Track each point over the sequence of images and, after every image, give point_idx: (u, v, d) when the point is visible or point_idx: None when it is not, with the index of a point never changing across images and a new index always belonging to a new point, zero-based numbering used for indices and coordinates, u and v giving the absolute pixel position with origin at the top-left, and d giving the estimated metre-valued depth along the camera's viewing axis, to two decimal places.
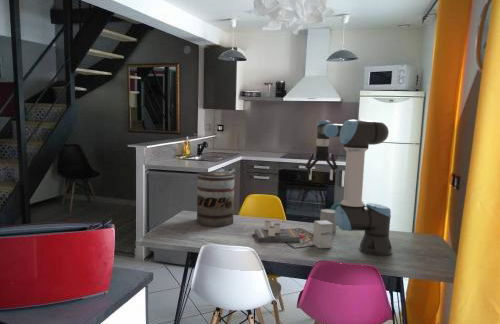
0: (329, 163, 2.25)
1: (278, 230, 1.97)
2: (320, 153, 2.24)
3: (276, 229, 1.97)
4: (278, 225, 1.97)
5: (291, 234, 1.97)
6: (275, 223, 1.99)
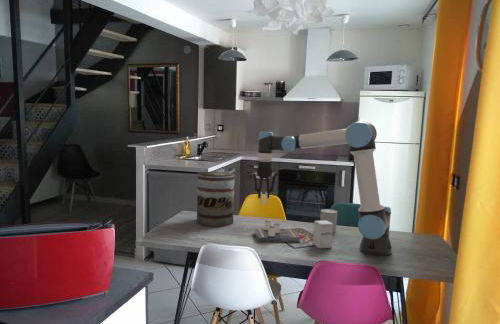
0: (267, 183, 1.94)
1: (278, 230, 1.97)
2: (262, 169, 1.93)
3: (276, 229, 1.97)
4: (278, 225, 1.97)
5: (291, 234, 1.97)
6: (275, 223, 1.99)
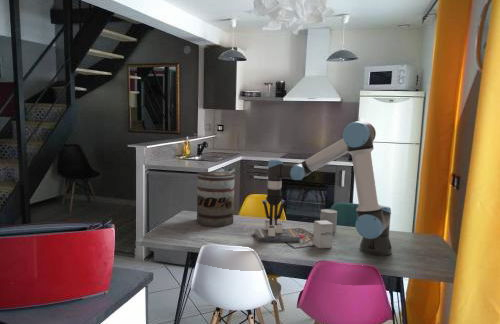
0: (276, 210, 1.96)
1: (280, 230, 1.97)
2: (272, 196, 1.95)
3: (278, 229, 1.97)
4: (280, 225, 1.97)
5: (291, 234, 1.97)
6: (277, 223, 1.99)
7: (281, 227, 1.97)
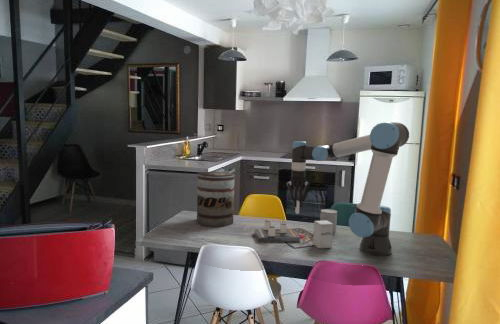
0: (300, 192, 1.96)
1: (284, 230, 1.98)
2: (296, 178, 1.95)
3: (282, 229, 1.97)
4: (284, 225, 1.97)
5: (291, 234, 1.97)
6: (281, 223, 1.99)
7: (285, 227, 1.98)
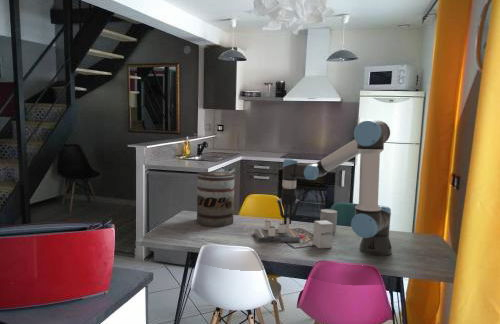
0: (290, 209, 1.97)
1: (283, 230, 1.98)
2: (286, 196, 1.96)
3: (281, 229, 1.97)
4: (283, 225, 1.97)
5: (291, 234, 1.97)
6: (280, 223, 1.99)
7: (284, 227, 1.97)
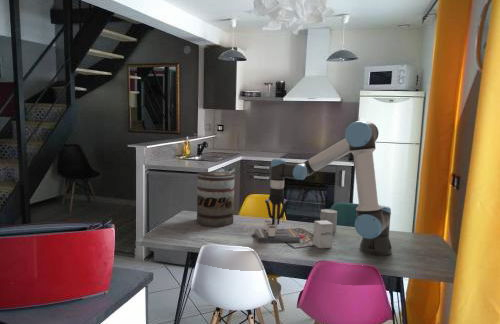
0: (278, 209, 1.96)
1: None
2: (274, 196, 1.95)
3: None
4: (271, 225, 1.96)
5: (291, 234, 1.97)
6: (268, 223, 1.98)
7: None
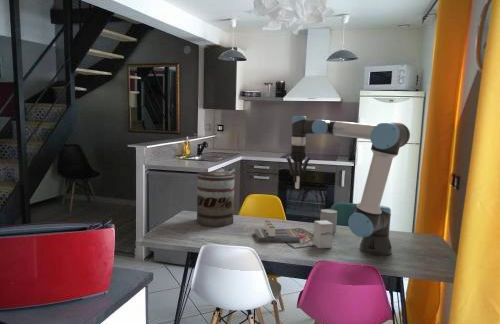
0: (300, 167, 1.96)
1: None
2: (296, 153, 1.95)
3: None
4: (271, 225, 1.96)
5: (291, 234, 1.97)
6: (268, 223, 1.98)
7: None
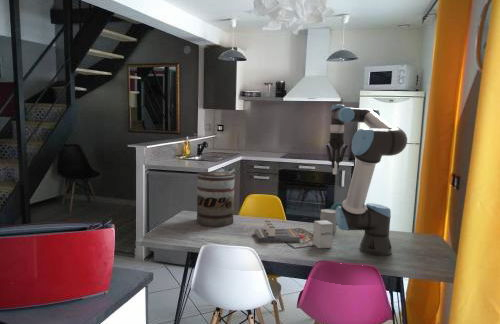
0: (338, 153, 2.05)
1: None
2: (335, 140, 2.04)
3: None
4: (271, 225, 1.96)
5: (291, 234, 1.97)
6: (268, 223, 1.98)
7: None
